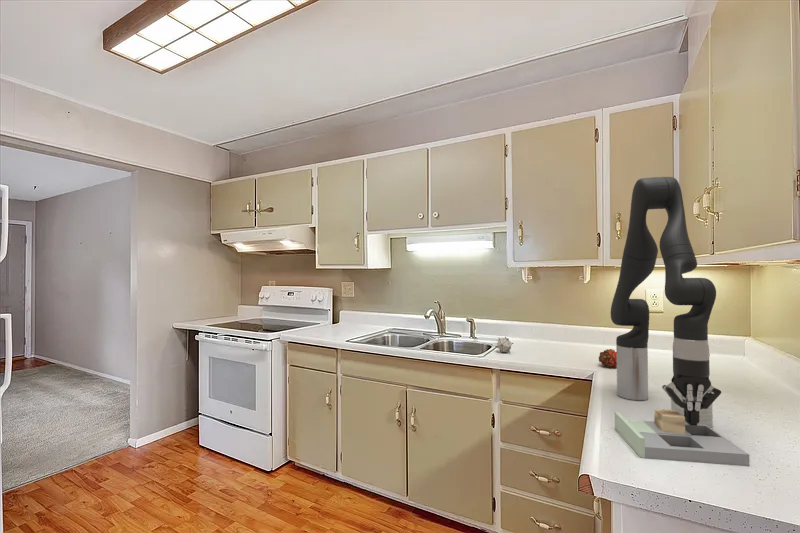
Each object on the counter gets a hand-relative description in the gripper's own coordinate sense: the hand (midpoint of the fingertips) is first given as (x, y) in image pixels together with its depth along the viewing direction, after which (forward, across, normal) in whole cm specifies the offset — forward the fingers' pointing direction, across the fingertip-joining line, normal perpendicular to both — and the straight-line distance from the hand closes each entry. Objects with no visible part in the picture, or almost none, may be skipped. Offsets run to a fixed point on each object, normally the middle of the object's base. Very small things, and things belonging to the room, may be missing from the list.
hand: (691, 424), depth 100 cm
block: (+2, +5, 0) cm, 5 cm away
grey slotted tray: (+4, +6, +4) cm, 8 cm away
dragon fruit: (+4, -5, -77) cm, 78 cm away
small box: (+4, -6, -11) cm, 13 cm away
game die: (+4, +39, -100) cm, 108 cm away
